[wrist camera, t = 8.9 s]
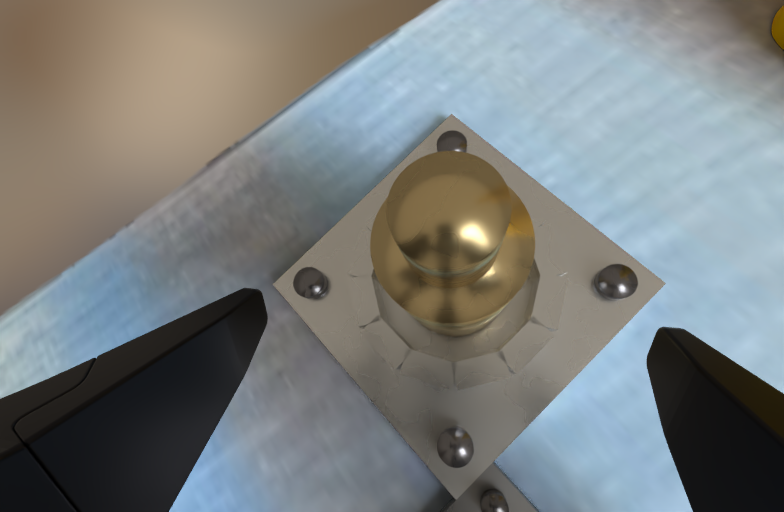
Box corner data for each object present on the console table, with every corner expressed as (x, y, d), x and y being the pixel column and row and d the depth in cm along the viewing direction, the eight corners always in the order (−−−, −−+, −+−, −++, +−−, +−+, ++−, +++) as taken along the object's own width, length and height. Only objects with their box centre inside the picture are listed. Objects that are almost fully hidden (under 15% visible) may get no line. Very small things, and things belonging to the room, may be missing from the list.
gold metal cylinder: (493, 348, 16) (536, 338, 7) (392, 322, 17) (320, 283, 8) (514, 249, 17) (575, 130, 8) (417, 229, 18) (375, 101, 9)
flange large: (456, 494, 16) (455, 518, 14) (278, 286, 19) (253, 277, 17) (658, 286, 17) (690, 274, 14) (451, 120, 20) (450, 90, 18)
